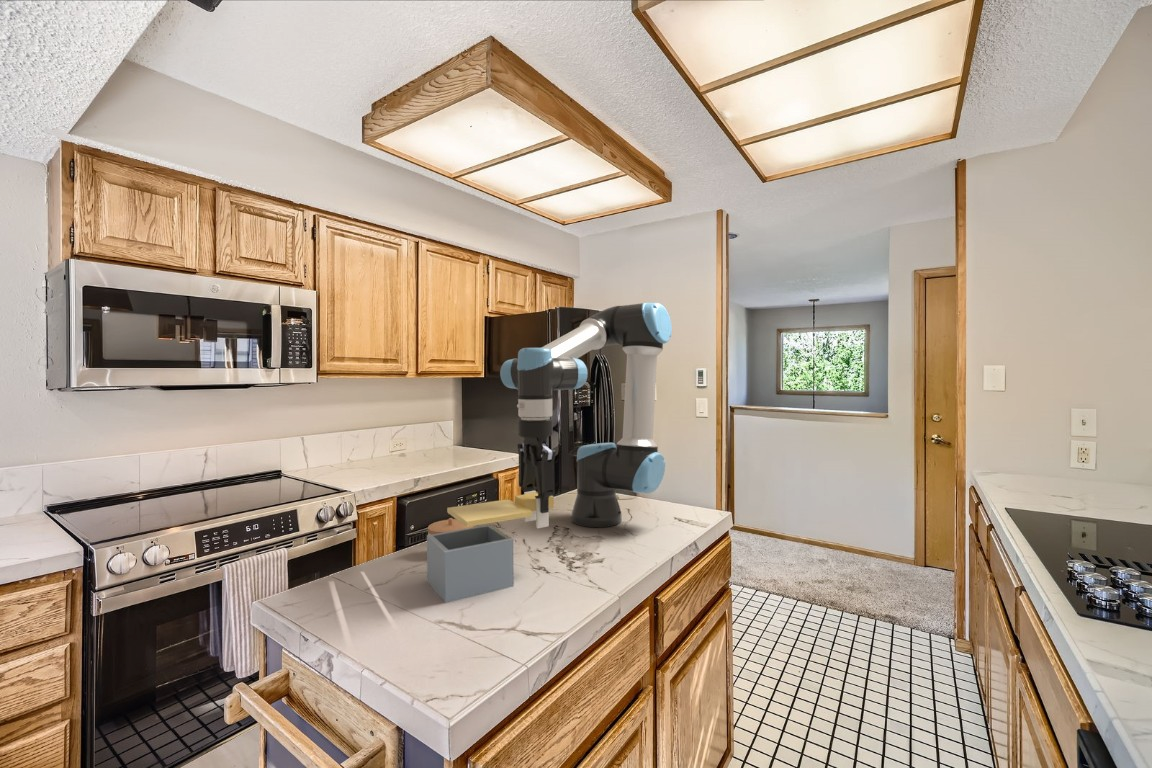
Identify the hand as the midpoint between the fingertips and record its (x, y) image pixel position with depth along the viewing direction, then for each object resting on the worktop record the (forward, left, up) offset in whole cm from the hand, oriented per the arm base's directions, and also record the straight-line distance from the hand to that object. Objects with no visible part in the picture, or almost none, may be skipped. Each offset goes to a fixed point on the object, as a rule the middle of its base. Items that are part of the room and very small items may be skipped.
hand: (536, 523), depth 113 cm
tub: (+15, 0, -11) cm, 19 cm away
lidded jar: (+12, -21, -12) cm, 27 cm away
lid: (+8, 0, +4) cm, 8 cm away
